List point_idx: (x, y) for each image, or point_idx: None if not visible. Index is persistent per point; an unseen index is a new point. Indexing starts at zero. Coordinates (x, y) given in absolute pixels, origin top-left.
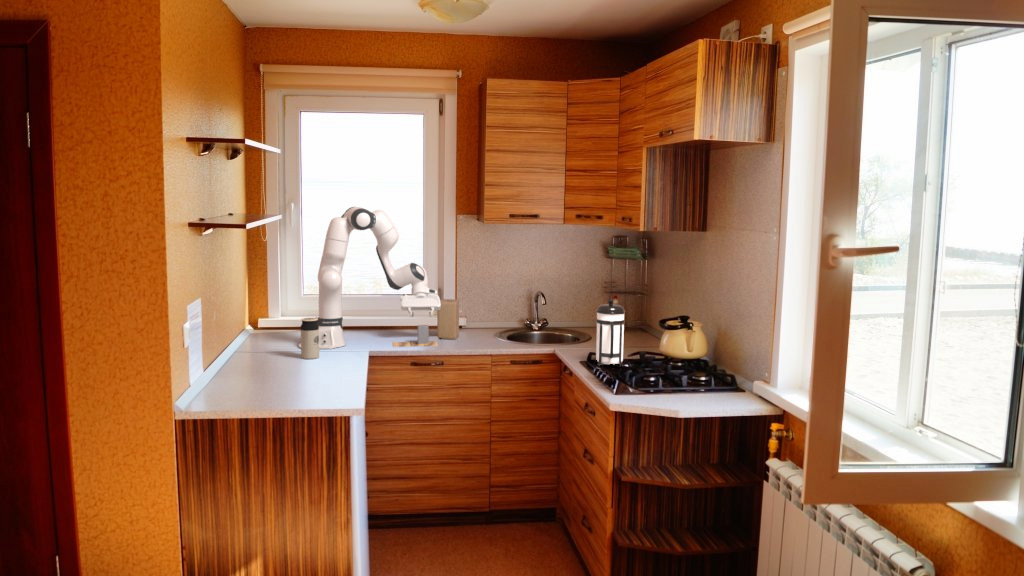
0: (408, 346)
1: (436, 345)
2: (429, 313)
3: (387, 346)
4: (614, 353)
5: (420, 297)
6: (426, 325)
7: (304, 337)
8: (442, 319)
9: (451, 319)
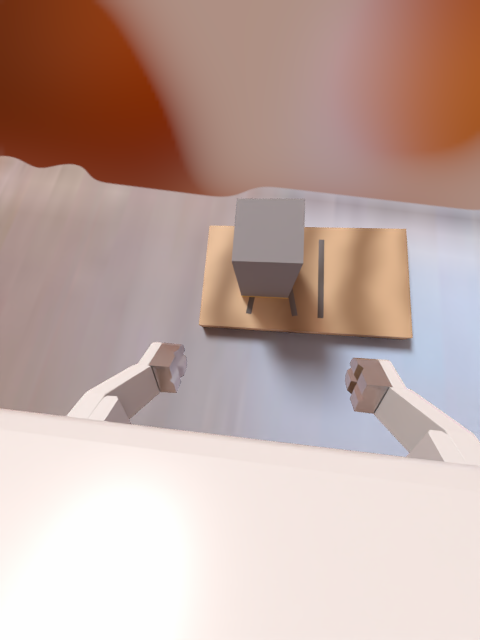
0: (335, 228)
1: (216, 230)
2: (175, 357)
3: (424, 315)
4: None
5: None
6: (244, 236)
7: None
8: None
9: None
